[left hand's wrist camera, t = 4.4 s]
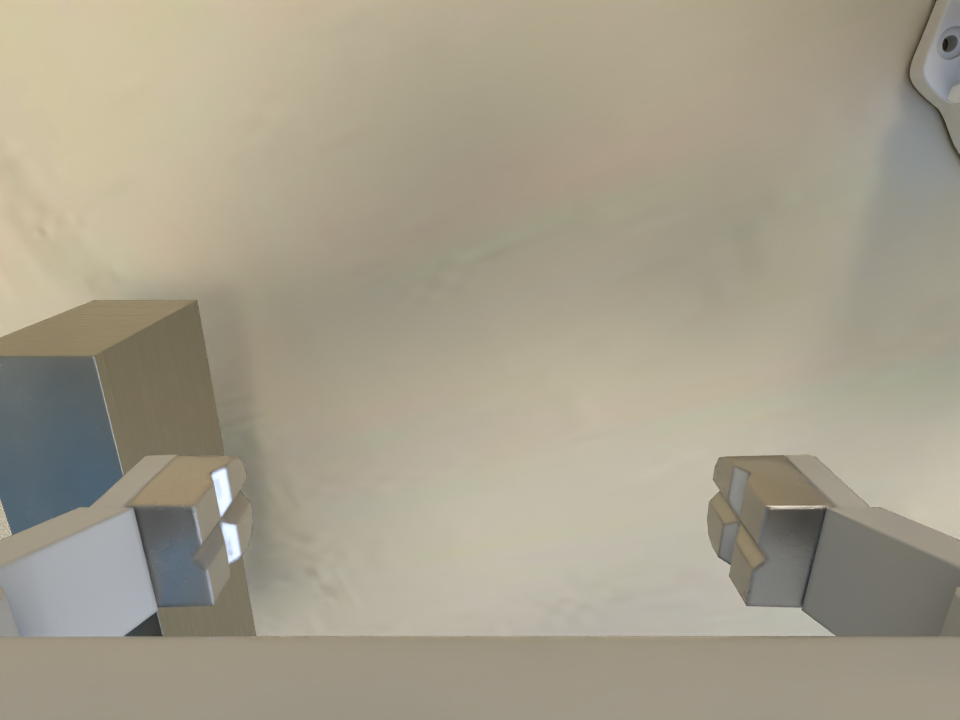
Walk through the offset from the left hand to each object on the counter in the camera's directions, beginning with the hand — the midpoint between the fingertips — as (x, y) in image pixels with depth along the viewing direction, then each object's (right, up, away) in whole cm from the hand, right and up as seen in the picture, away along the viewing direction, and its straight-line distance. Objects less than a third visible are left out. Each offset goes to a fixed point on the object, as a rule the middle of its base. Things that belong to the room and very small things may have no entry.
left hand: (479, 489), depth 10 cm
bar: (-18, -6, +24) cm, 31 cm away
